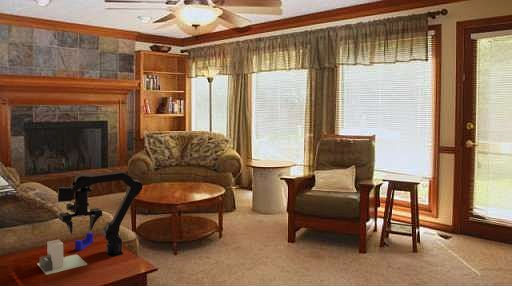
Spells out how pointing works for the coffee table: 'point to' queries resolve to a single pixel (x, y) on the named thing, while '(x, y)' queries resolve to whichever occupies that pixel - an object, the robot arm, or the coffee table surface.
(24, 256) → the coffee table surface
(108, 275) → the coffee table surface
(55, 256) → the plug housing
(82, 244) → the cable clip
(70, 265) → the board
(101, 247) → the coffee table surface
